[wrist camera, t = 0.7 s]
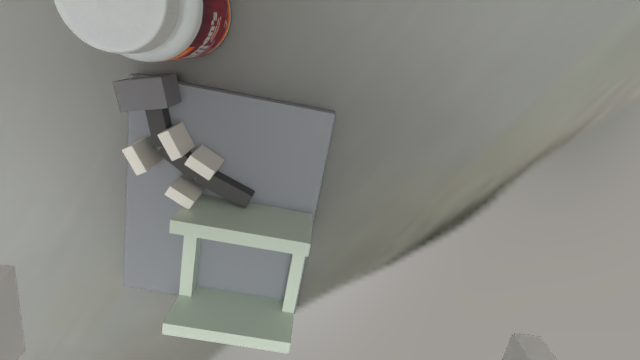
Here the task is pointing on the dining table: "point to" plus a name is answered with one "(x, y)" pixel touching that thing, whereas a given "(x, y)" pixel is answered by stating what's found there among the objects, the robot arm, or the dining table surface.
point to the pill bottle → (149, 26)
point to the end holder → (230, 307)
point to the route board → (214, 177)
